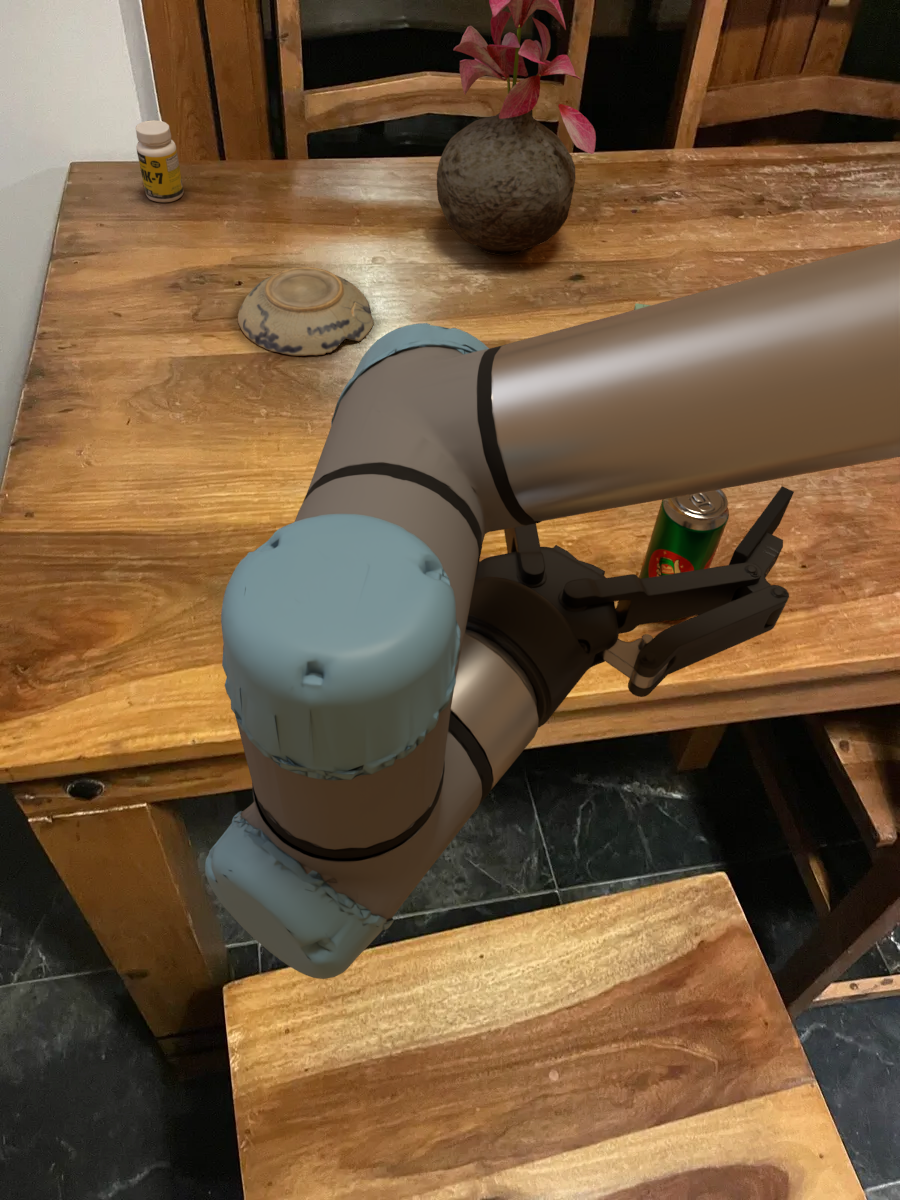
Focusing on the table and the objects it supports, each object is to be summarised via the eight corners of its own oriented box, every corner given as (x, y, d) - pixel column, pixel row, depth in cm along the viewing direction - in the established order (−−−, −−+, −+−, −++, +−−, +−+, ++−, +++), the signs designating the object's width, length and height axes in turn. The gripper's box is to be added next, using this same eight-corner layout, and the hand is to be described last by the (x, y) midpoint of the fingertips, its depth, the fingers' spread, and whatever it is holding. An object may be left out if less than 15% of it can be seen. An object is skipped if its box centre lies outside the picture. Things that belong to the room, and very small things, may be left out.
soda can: (672, 572, 81) (708, 468, 72) (705, 614, 78) (746, 511, 69) (622, 588, 79) (652, 484, 70) (653, 632, 76) (688, 528, 67)
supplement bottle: (138, 197, 119) (123, 129, 112) (161, 182, 121) (148, 115, 115) (169, 207, 117) (156, 138, 111) (191, 191, 120) (180, 124, 114)
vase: (437, 203, 121) (447, -73, 98) (571, 212, 121) (612, -62, 98) (431, 273, 110) (441, -20, 87) (578, 282, 110) (626, -8, 87)
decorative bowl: (345, 370, 97) (393, 294, 107) (343, 340, 95) (393, 265, 104) (214, 340, 100) (273, 269, 109) (208, 310, 97) (269, 239, 106)
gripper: (294, 607, 53) (503, 422, 64) (690, 859, 44) (849, 592, 56) (283, 512, 47) (514, 328, 59) (735, 780, 38) (901, 501, 50)
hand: (677, 456), depth 57 cm, fingers open, 13 cm apart
